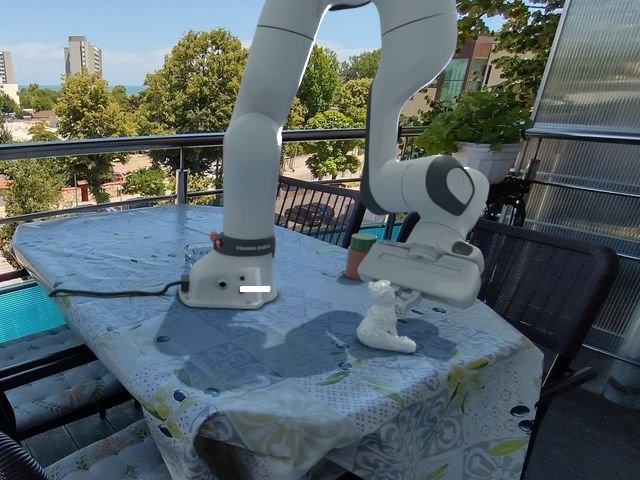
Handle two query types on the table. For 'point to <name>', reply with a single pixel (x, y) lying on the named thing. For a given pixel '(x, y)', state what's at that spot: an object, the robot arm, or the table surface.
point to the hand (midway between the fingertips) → (395, 312)
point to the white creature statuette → (383, 321)
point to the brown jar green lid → (358, 253)
